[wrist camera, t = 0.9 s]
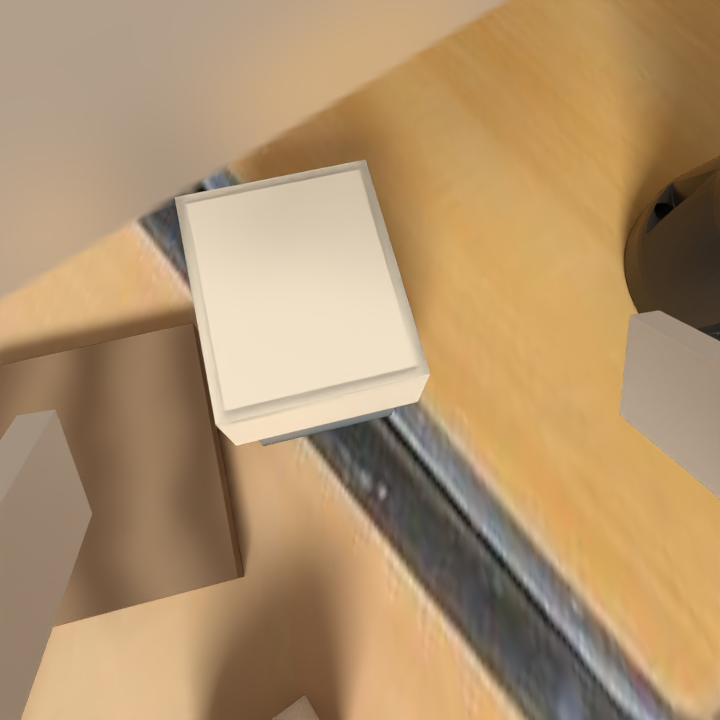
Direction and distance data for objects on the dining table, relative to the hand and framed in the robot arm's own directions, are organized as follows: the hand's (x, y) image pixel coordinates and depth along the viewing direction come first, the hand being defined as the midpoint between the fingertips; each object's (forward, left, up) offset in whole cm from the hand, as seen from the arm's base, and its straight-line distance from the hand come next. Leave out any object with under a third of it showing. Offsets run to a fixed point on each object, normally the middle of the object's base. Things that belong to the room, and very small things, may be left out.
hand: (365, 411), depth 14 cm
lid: (+1, -9, -17) cm, 19 cm away
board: (+14, -5, -22) cm, 27 cm away
